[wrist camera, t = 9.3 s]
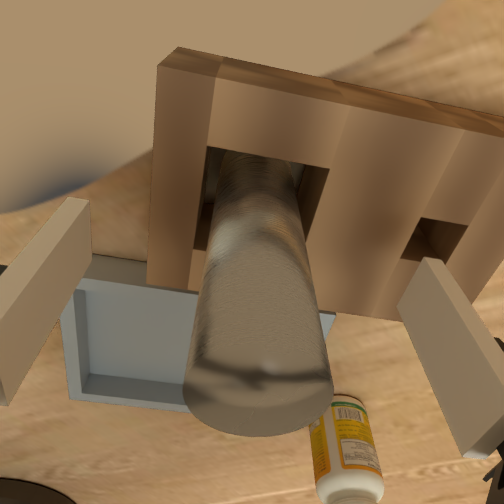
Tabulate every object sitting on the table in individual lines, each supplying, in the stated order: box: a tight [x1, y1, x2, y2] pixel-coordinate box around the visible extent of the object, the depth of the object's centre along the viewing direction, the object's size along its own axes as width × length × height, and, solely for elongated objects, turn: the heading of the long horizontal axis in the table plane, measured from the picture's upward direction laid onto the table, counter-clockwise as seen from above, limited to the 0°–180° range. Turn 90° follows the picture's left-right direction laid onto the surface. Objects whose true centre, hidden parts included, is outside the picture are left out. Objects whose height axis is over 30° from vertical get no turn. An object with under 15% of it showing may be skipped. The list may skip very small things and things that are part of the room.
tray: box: [60, 254, 336, 413], centre depth 30 cm, size 18×13×2 cm
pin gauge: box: [182, 150, 334, 437], centre depth 17 cm, size 4×4×15 cm
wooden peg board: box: [146, 47, 504, 322], centre depth 21 cm, size 18×11×5 cm, turn 79°
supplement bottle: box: [309, 395, 384, 504], centre depth 32 cm, size 5×5×10 cm
